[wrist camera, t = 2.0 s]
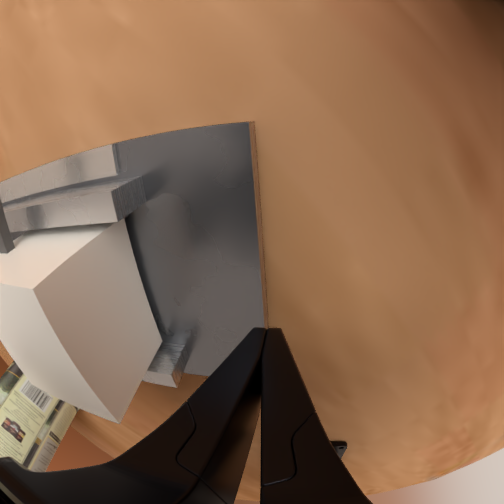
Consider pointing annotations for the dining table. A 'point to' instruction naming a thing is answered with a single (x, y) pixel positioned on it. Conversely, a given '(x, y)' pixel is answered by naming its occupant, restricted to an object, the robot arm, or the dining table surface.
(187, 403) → the robot arm
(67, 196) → the gauge track
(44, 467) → the coffee can
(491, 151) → the dining table surface
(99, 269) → the white cube with rod
